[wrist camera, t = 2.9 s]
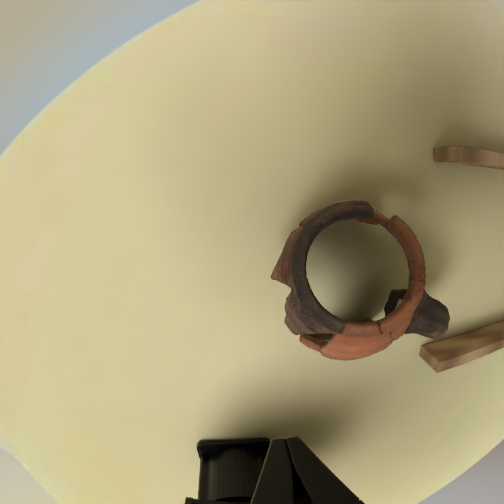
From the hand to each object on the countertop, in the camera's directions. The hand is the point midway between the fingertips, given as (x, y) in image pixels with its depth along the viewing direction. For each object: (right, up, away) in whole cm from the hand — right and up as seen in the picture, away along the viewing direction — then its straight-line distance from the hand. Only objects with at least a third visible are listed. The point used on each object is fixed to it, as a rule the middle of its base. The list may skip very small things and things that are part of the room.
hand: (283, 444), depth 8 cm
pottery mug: (+6, +4, +12) cm, 14 cm away
